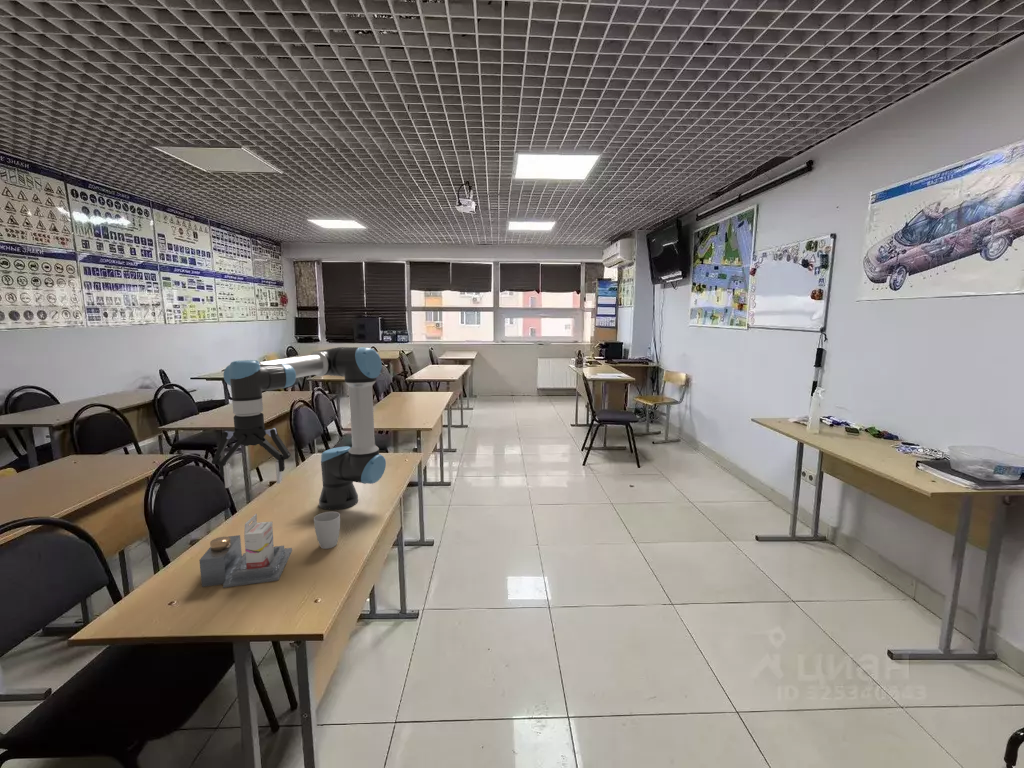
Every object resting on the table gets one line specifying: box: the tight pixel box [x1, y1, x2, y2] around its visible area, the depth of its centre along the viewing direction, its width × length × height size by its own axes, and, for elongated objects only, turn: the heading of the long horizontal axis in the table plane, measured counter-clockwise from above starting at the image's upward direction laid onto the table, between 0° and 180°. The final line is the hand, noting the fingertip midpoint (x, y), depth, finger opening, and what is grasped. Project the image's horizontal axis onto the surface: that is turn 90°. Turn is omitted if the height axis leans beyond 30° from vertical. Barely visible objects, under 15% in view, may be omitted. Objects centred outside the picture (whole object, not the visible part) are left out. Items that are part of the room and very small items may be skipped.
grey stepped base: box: [199, 534, 293, 589], centre depth 134 cm, size 20×18×10 cm
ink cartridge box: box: [243, 513, 275, 569], centre depth 134 cm, size 9×5×15 cm, turn 8°
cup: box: [313, 511, 341, 550], centre depth 149 cm, size 8×8×10 cm
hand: (254, 484), depth 132 cm, fingers open, 13 cm apart
